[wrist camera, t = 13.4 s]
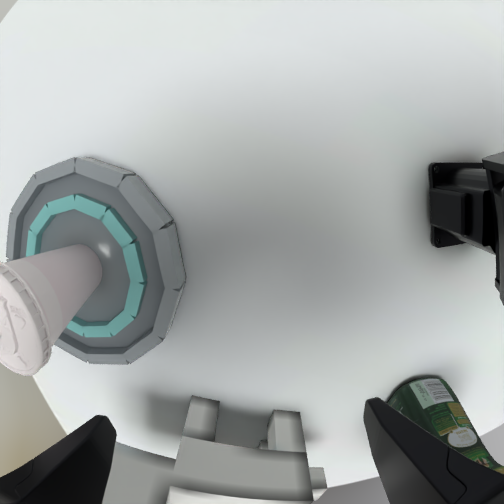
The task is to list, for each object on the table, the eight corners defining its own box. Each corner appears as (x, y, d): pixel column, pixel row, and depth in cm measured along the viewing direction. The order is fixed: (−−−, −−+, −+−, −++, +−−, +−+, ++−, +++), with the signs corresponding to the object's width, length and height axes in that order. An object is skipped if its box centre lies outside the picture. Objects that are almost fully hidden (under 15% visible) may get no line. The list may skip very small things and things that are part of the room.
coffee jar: (415, 433, 26) (468, 548, 8) (360, 438, 26) (403, 578, 8) (454, 371, 23) (542, 491, 6) (399, 372, 23) (487, 532, 5)
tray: (161, 137, 18) (151, 133, 16) (202, 347, 22) (198, 362, 20) (7, 189, 19) (-7, 192, 17) (53, 349, 23) (43, 360, 21)
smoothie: (45, 278, 20) (-74, 363, 6) (64, 210, 18) (-92, 267, 5) (103, 320, 21) (2, 445, 7) (130, 253, 19) (-12, 371, 6)
